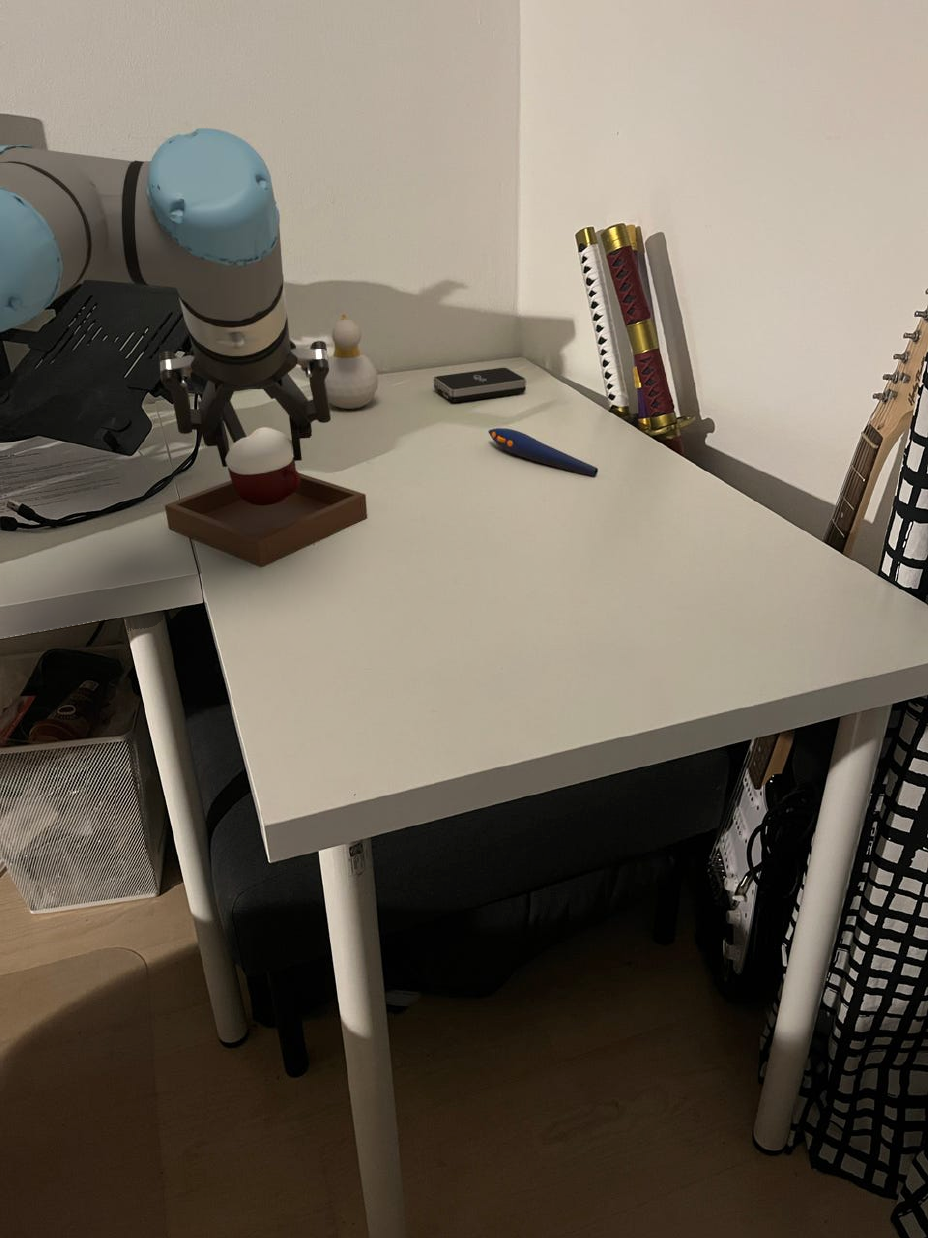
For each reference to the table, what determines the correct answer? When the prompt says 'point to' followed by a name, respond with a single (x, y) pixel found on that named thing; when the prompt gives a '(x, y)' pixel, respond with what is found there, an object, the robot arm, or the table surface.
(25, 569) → the table surface
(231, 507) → the tray
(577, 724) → the table surface
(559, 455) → the tapered navy handle
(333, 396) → the white gourd-shaped figure
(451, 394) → the external hard drive
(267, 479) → the cocoa
